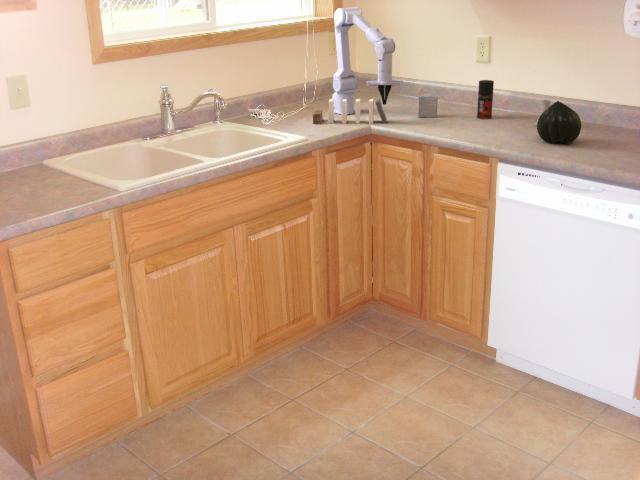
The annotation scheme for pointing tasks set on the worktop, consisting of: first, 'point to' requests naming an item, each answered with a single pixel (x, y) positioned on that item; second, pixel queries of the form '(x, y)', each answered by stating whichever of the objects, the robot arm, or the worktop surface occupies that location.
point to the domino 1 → (331, 110)
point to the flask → (543, 108)
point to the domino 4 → (371, 110)
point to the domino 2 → (344, 110)
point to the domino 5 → (381, 111)
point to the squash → (559, 124)
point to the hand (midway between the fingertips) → (384, 104)
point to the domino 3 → (357, 110)
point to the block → (317, 117)
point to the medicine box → (427, 105)
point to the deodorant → (485, 99)
